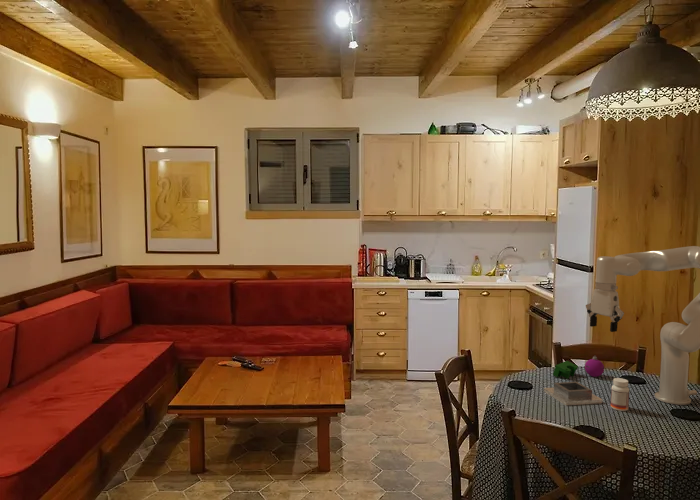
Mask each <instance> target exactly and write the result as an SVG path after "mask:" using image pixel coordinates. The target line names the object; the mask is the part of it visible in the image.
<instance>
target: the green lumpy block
mask: <svg viewBox="0 0 700 500" xmlns="http://www.w3.org/2000/svg"><path fill="white" fill-rule="evenodd" d="M578 368H579V366H578V365H577V364H575V363H573V362H571V361H568V360H566V361H562V362H560V363H558V364H556V365H555V367H554V370H553V373H552V376H553V377H556V378H560V377H563V378H565V379H567V380H568V379H569V378H570V376H571V377H574V376H575V373H576V371H578Z"/></svg>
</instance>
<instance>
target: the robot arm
mask: <svg viewBox="0 0 700 500" xmlns="http://www.w3.org/2000/svg"><path fill="white" fill-rule="evenodd" d="M595 267H596V269H595V284H594V289H593V292H592V297H591V302H590V303H587V304H586V305H585V309H586V312H587V314H588V317H589V327H591V328H593V327H597V323H598V317H597V315H601V316H603V317H604V316H605V317H609V318H610V325H609V326H610V327H609V328H610V329H609V331H610V333H615V332H618V324H619V322H620V321H621V320H623V317H624V315H625V312H624V311H623V310H622V309H621V308H620V299H619V293H618V291H617V290H618V288H619V287H618V285H617V278H618V276H625V277H632V276H636V275H638V273H639V272H640V271H652V272H670V271H676V270H677V271H678V270H684V269H692V268H696V269H700V246H697V245H692V246H691V245H690V246H681V247H675V248H668V249H661V250H660V249H659V250H651V251H641V252H640V251H639V252H631V253H624V254H618V255H615V256H608V255H607V256H605V255H603V256H601V255H600V256H598V257H597V258H596V265H595ZM617 275H618V276H617ZM681 318H682V320H683V322H684V323H686V324H687V325H685V324H683V323H680V322H676V321H671V322H667V323H665V324H664V325H663V326H662V327H661V329H660V334H659V336H660V337H659V339H660V346H661V356H660V358H661V359H660V371H659V372H660V375H659V390H658V391H657V392H655V393H654V397H655V399H656V400H658V401H661V402H663V403H667V404H672V405H679V406H686V405H687V406H688V405H690V404H691V403H692V398H690V396H697V395H698V392H697V390H695V389H692V390H691V389H689V388H688V380H689V379H688V378H689V364H690V356H689V355H690V354H689V353H694V352H697V351H698V350H700V292H699V293H698V294H697V295H696V296H695V298H693V299H692V300H691V301H690V302H689V303H688V304H687V305H686V307H685V308H683V310H682V312H681Z"/></svg>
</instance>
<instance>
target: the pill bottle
mask: <svg viewBox="0 0 700 500" xmlns="http://www.w3.org/2000/svg"><path fill="white" fill-rule="evenodd" d="M610 390H611V392H610V393H611V394H610V408H611V409H613V410H615V411H617V412H618V411H619V412H627V411H628V410H629V402H630V401H629V400H630V388H629V380H628V379H625V378H622V377H616V378H615V377H614V378H613V379H612V386H611V389H610Z"/></svg>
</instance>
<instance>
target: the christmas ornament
mask: <svg viewBox="0 0 700 500" xmlns="http://www.w3.org/2000/svg"><path fill="white" fill-rule="evenodd" d="M584 370H585V372H586V373H587V375H588V376H590V377H594V378H597V377H600V376H602V375H603V373H604V371H605V365H604V363H603V362H602V361H601V360H600V359H598V357H597V356H592V358H591V359H588V360H587V361H585V364H584Z"/></svg>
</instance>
